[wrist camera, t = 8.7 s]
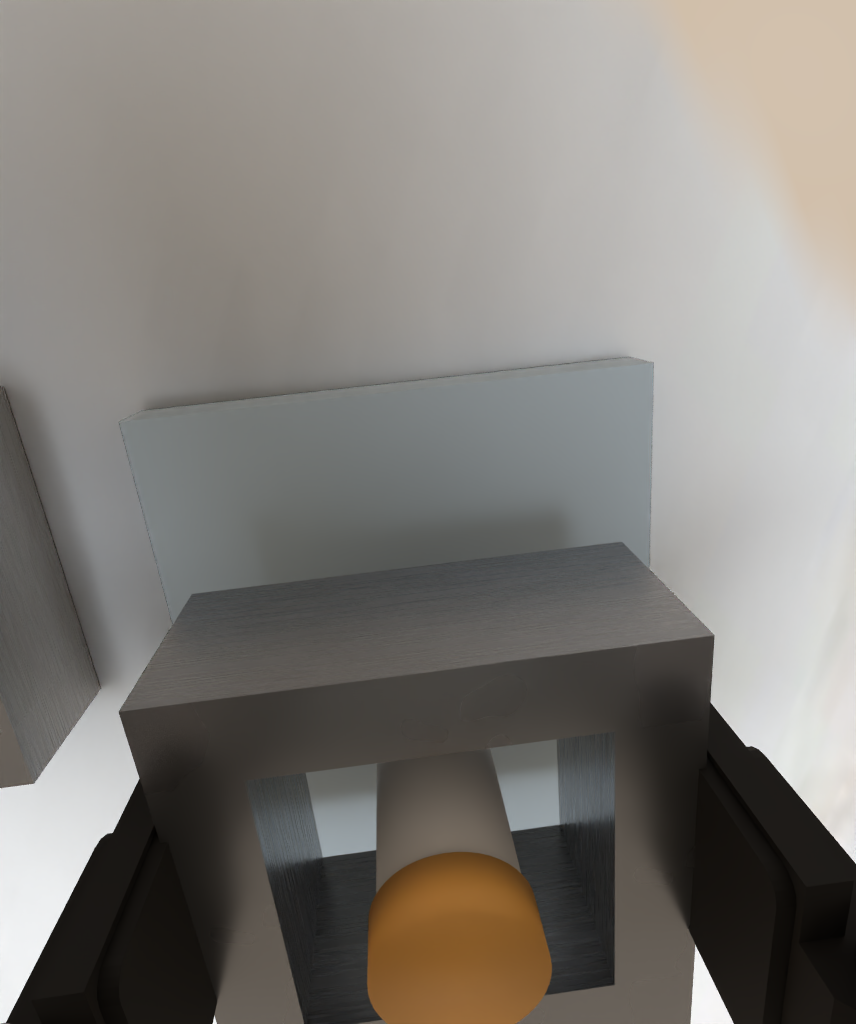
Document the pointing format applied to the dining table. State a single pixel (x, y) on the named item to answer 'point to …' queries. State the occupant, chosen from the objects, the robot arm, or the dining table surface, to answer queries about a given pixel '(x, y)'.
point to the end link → (428, 732)
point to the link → (34, 626)
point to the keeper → (402, 544)
